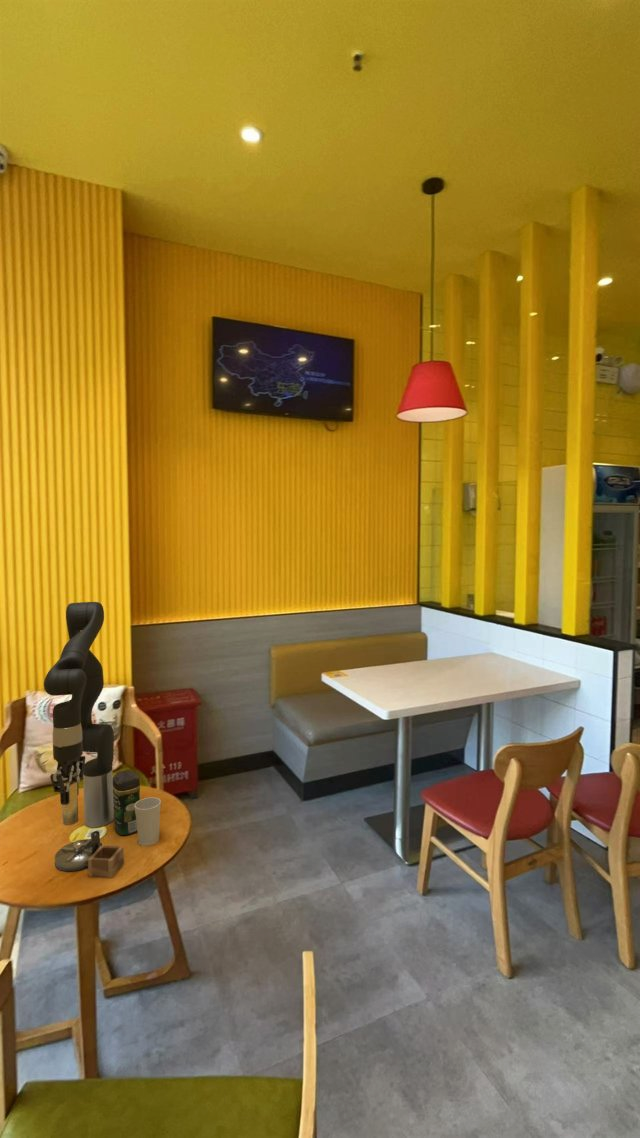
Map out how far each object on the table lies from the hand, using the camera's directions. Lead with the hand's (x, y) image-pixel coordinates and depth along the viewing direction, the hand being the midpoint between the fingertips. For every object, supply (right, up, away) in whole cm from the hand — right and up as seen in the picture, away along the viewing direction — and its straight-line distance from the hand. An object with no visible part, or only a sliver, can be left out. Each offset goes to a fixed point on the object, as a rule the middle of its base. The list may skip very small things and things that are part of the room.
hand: (69, 799), depth 149 cm
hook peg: (0, -6, 0) cm, 6 cm away
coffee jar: (+7, -21, +26) cm, 34 cm away
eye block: (+9, -22, +4) cm, 24 cm away
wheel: (-2, -22, +10) cm, 24 cm away
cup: (+16, -21, +19) cm, 33 cm away
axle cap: (-2, -19, +10) cm, 21 cm away
